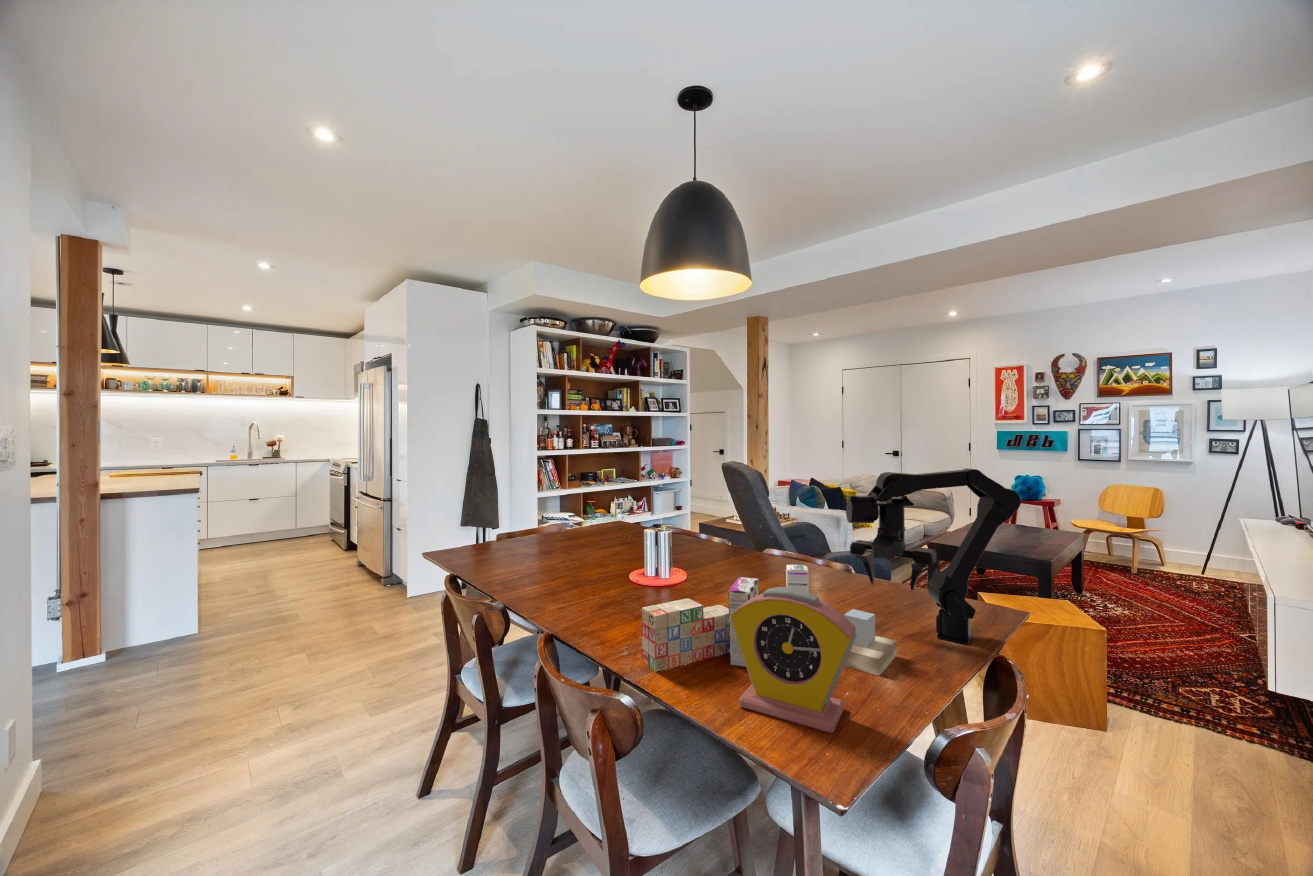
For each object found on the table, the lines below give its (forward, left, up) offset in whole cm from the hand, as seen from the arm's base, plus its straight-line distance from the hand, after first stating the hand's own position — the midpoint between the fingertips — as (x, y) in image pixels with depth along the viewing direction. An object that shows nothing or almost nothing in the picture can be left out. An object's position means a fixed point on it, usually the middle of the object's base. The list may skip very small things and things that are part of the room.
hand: (891, 586), depth 124 cm
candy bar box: (+22, +34, -12) cm, 42 cm away
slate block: (+2, +17, -8) cm, 20 cm away
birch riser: (+2, +18, -13) cm, 22 cm away
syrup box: (+22, +6, -12) cm, 26 cm away
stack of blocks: (+31, +41, -12) cm, 53 cm away
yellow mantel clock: (+4, +47, -12) cm, 49 cm away
